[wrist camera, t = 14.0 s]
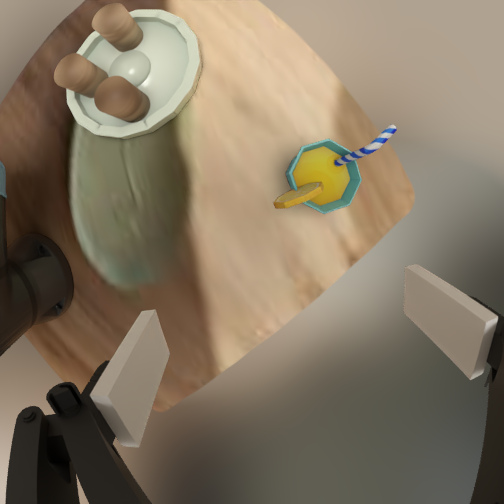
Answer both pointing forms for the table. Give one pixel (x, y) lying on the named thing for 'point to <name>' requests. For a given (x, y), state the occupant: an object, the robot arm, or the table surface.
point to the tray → (144, 73)
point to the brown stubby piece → (121, 100)
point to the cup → (326, 174)
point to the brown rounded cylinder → (79, 75)
